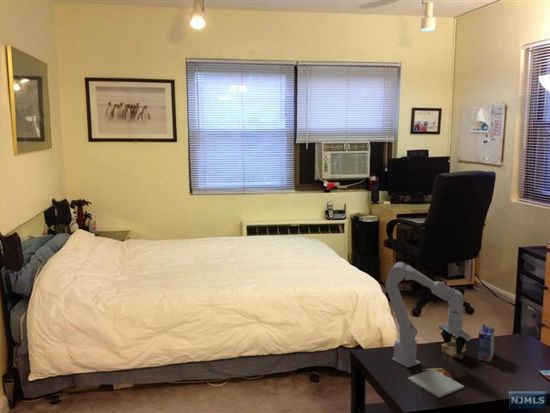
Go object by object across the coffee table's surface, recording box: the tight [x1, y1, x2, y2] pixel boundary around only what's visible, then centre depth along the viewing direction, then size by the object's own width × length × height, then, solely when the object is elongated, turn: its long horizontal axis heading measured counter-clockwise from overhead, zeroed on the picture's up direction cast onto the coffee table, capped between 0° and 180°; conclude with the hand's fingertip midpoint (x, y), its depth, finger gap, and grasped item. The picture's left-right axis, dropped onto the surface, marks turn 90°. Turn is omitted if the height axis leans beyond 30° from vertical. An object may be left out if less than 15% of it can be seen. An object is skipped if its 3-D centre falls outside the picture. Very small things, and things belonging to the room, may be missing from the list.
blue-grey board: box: [407, 368, 465, 398], centre depth 188 cm, size 16×14×1 cm
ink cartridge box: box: [477, 323, 495, 363], centre depth 210 cm, size 10×6×14 cm, turn 148°
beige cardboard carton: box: [440, 340, 467, 364], centre depth 198 cm, size 5×9×6 cm, turn 120°
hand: (453, 350), depth 198 cm, fingers closed on beige cardboard carton, 5 cm apart
